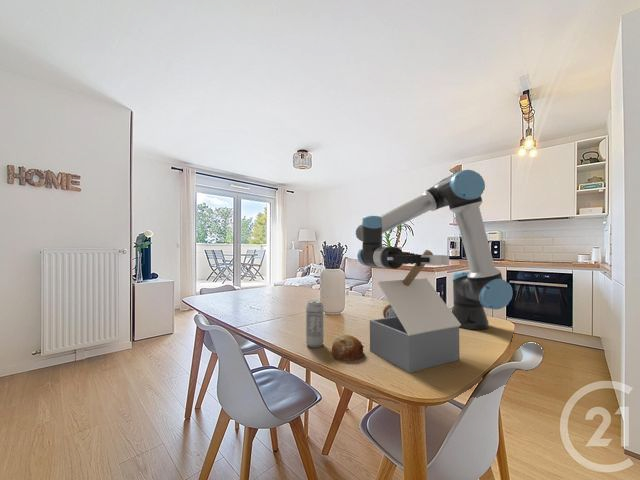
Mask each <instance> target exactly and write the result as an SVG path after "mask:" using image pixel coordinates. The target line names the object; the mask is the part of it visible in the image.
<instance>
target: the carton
mask: <svg viewBox="0 0 640 480" xmlns="http://www.w3.org/2000/svg"><path fill="white" fill-rule="evenodd" d="M369 351H370V352H371V353H374V354H375V355H377V356H378V357H380V358H382V359H383V360H386V362H387V361H388V362H389V363H391V364H393V365H395V366H397V367H398V368H400V369H401V370H403V371H405V372H407V373H408V374H409V373H415V372H418V371H419V372H420V371H421V370H425V369H429V368H433V367H436V366H441V365H445V364H448V363H452V362H457V361H459V360H460V358H461V357H460V327H453V328H448V329H443V330H437V331H432V332H426V333H421V334H416V335H410V336H408V334H407V332H406V330H405V329H404V327H403V325H402V324H401V322H400V320H399V318H398V317H397V316H396V317H389V318H384V317H383V318H377V319H376V318H375V319H370V320H369Z"/></svg>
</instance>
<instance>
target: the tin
mask: <svg viewBox="0 0 640 480" xmlns="http://www.w3.org/2000/svg"><path fill="white" fill-rule="evenodd" d="M382 315H383V318H389V317H396V316H397V315H396V313H395V312H394V310H393V308H392V307H391V305H390V304H387V305H386V306H385V307H384V308H383V310H382Z"/></svg>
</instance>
